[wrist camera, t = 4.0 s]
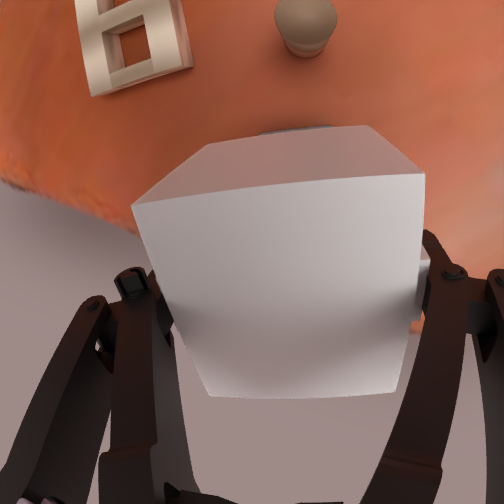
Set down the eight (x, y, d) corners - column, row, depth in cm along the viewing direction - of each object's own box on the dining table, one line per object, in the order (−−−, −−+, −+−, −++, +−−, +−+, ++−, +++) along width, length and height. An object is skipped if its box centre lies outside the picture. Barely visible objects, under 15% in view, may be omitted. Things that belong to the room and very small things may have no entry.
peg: (282, 25, 21) (269, -6, 12) (321, 21, 20) (330, -12, 12) (289, 60, 22) (280, 47, 14) (328, 56, 22) (342, 41, 13)
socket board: (90, -15, 19) (72, -20, 17) (171, -51, 17) (157, -62, 15) (109, 94, 25) (91, 97, 23) (194, 66, 23) (182, 65, 21)
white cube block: (207, 144, 15) (130, 205, 9) (367, 124, 14) (425, 173, 7) (241, 288, 20) (209, 395, 13) (372, 279, 18) (395, 391, 11)
